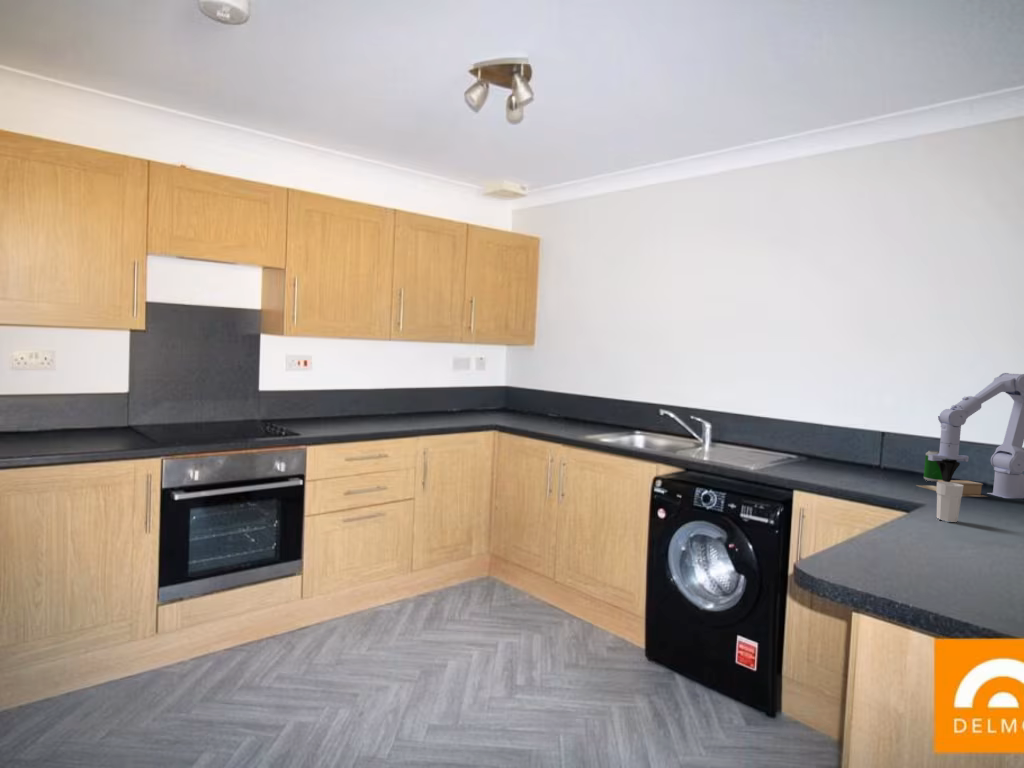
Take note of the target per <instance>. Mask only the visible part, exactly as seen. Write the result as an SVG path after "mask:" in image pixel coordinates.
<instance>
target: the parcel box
mask: <svg viewBox="0 0 1024 768" xmlns="http://www.w3.org/2000/svg"><path fill="white" fill-rule="evenodd" d="M938 482H939V481H938ZM982 487H983V485H964V488H963V494H962V495H982Z"/></svg>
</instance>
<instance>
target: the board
mask: <svg viewBox="0 0 1024 768" xmlns="http://www.w3.org/2000/svg"><path fill="white" fill-rule="evenodd" d="M915 486H916V487H919V488H923V489H926V490H930V491H934V492H937V485H920V484H919V485H918V484H916V485H915ZM962 497H980V498H983V497H985V498H986V497H987V498H988V497H989V496H987V495H983V494H981V495H962Z"/></svg>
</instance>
